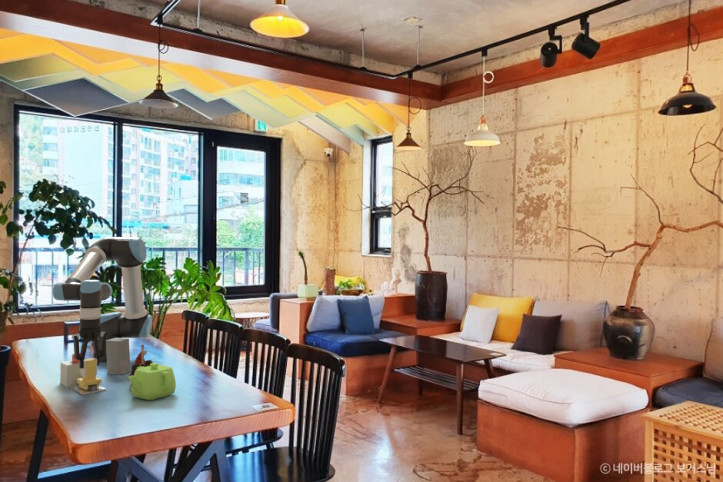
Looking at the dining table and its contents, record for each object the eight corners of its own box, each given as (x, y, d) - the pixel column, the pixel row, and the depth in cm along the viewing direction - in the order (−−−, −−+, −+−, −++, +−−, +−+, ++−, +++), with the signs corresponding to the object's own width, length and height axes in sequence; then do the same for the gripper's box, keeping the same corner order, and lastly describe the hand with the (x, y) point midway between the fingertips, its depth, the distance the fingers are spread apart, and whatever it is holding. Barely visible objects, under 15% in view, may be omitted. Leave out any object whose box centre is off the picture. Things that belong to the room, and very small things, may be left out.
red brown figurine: (141, 392, 223) (142, 348, 223) (123, 389, 226) (124, 346, 226) (159, 385, 233) (160, 343, 233) (142, 383, 236) (142, 341, 236)
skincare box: (130, 372, 255) (131, 338, 255) (118, 375, 248) (118, 340, 248) (117, 370, 258) (118, 336, 258) (104, 373, 252) (105, 339, 252)
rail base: (91, 383, 235) (91, 377, 235) (105, 390, 224) (106, 384, 224) (68, 387, 228) (69, 381, 228) (82, 394, 218) (82, 388, 218)
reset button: (79, 364, 237) (79, 353, 237) (82, 366, 235) (82, 354, 235) (70, 365, 235) (70, 354, 235) (73, 367, 232) (73, 355, 232)
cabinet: (85, 379, 241) (85, 358, 241) (92, 382, 236) (92, 362, 235) (60, 383, 234) (60, 362, 234) (67, 387, 228) (67, 365, 228)
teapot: (145, 407, 203) (145, 372, 203) (112, 398, 214) (112, 365, 214) (185, 396, 219) (185, 363, 219) (152, 388, 230) (153, 357, 230)
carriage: (94, 383, 230) (95, 356, 230) (101, 386, 225) (101, 359, 225) (76, 386, 225) (77, 359, 225) (83, 390, 220) (83, 362, 220)
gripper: (107, 315, 233) (106, 370, 234) (65, 318, 221) (64, 377, 221) (114, 317, 228) (113, 373, 228) (71, 321, 216) (70, 380, 216)
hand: (89, 375), depth 225 cm, fingers closed on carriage, 3 cm apart
